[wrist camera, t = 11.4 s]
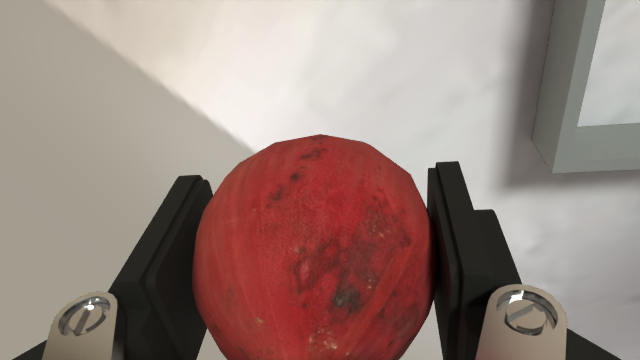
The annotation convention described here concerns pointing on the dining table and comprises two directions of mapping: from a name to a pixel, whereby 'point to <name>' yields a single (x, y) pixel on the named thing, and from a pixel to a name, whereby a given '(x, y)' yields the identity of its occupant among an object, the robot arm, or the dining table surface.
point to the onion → (315, 255)
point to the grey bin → (577, 99)
